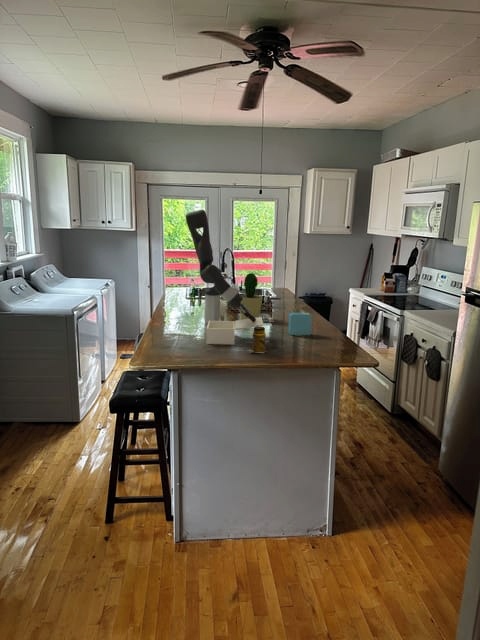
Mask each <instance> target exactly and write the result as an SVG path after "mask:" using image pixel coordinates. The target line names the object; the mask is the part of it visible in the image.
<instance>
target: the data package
mask: <svg viewBox="0 0 480 640" xmlns="http://www.w3.org/2000/svg"><path fill="white" fill-rule="evenodd" d="M312 325H313V316H312V314H310V312H291V313H289V315H288V333H289V335H291V336H292V335H295V336H300V337H301V336H302V335H309V336H311V334H312V328H313V327H312ZM302 337H303V336H302Z"/></svg>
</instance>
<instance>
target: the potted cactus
mask: <svg viewBox="0 0 480 640" xmlns="http://www.w3.org/2000/svg"><path fill="white" fill-rule="evenodd" d="M257 277H258V276H256V274H255V273H251V272H248V274H246V276H245V277H244V280H243V288H244V293H245V294H240V295H241V297H242V298H243V300H242V301H241V303H242V304H243V303H244V304H245V306H246V307H247V308H248V309H249V311H250V312H251V314H252V315H253V316H254V317H255V318H257V317H260V314H261V308H262V302H263V297H264V295H263V296H262V295H260V294H259V295H258V294H256V289H257V287H258V278H257ZM239 312H240V311H239ZM243 319H249V318H248V317H246V316H245V315H244V314H242V313H241V312H240V320H243Z"/></svg>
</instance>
